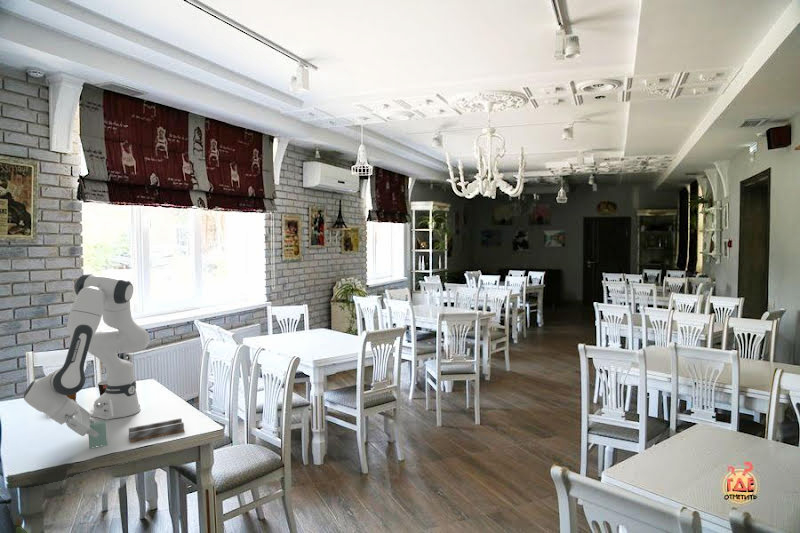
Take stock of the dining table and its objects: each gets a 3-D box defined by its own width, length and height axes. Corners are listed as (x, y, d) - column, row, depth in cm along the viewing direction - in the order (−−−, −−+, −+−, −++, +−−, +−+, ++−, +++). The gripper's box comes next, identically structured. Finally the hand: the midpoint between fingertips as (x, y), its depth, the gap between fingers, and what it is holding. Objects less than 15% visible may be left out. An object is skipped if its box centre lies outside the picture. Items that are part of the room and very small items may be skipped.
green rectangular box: (89, 448, 204) (87, 425, 204) (89, 446, 206) (87, 423, 206) (107, 445, 207) (105, 422, 207) (106, 442, 209) (105, 420, 209)
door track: (130, 443, 209) (129, 434, 208) (128, 435, 216) (128, 427, 216) (184, 432, 219) (184, 423, 218) (181, 425, 226) (180, 417, 226)
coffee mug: (105, 399, 266) (104, 379, 265) (122, 398, 266) (121, 379, 265) (91, 407, 255) (90, 386, 254) (109, 406, 254) (107, 386, 254)
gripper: (71, 412, 193) (104, 433, 199) (73, 398, 211) (103, 417, 216) (58, 427, 191) (91, 447, 197) (61, 411, 209) (91, 430, 214)
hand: (97, 431), depth 207 cm, fingers open, 8 cm apart
